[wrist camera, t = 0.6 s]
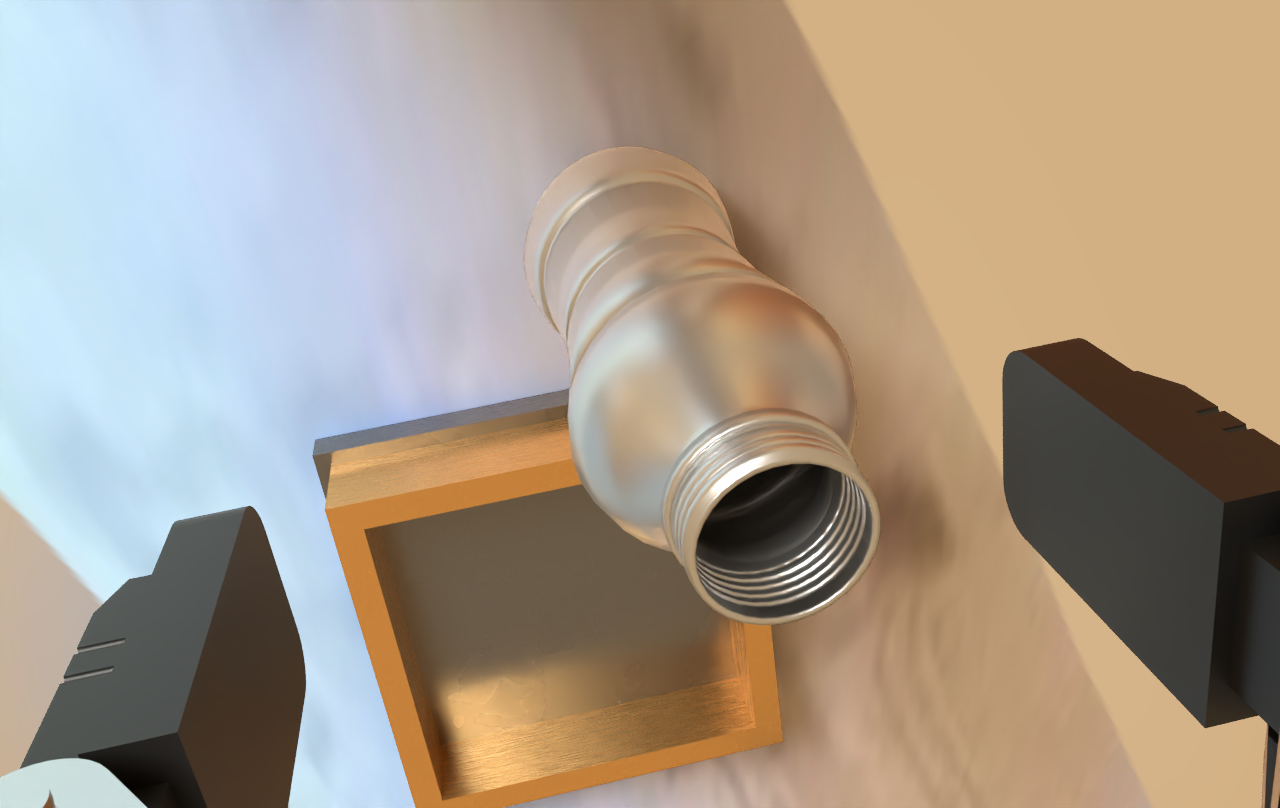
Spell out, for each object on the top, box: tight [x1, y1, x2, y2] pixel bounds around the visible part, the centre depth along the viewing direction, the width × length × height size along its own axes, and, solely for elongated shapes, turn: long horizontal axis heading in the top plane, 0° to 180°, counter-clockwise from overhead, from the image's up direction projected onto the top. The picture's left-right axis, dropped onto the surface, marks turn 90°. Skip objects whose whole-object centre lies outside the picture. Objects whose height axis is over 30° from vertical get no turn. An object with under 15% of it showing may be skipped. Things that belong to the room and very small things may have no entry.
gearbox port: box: [313, 389, 783, 808], centre depth 42 cm, size 15×15×4 cm
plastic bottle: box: [524, 146, 881, 625], centre depth 30 cm, size 6×7×20 cm
